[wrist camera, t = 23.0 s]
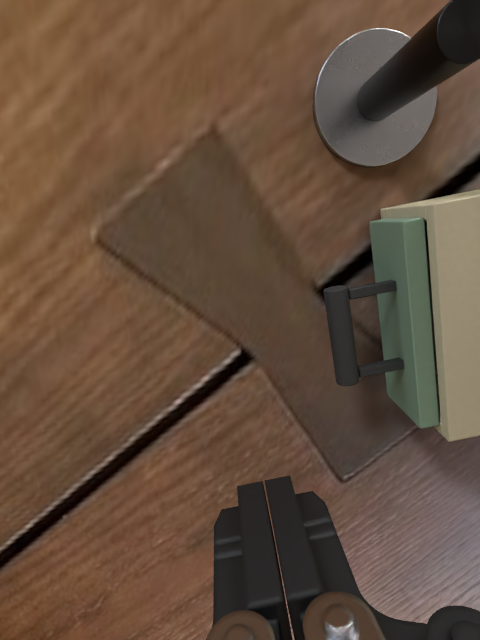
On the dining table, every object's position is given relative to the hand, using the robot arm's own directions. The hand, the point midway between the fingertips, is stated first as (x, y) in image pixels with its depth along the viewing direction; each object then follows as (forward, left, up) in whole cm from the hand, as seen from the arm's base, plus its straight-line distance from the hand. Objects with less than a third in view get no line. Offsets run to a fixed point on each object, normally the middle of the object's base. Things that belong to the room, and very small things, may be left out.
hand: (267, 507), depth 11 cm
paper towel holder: (-1, +17, -17) cm, 24 cm away
